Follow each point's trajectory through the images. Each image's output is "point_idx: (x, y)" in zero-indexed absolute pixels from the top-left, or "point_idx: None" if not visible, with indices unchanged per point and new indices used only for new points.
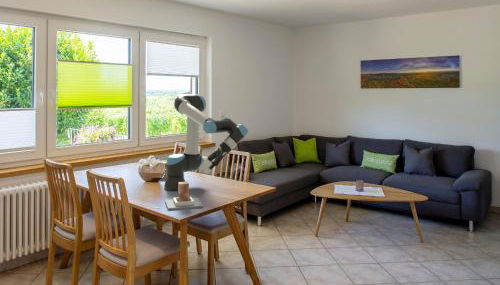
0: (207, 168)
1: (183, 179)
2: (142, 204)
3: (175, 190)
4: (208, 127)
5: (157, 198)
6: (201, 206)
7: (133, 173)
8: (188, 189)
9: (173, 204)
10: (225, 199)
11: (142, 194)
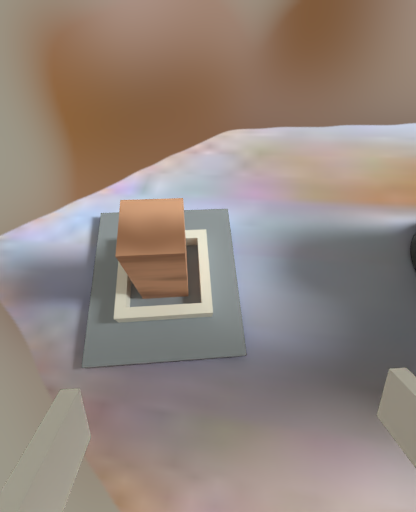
0: (23, 462)
1: None
2: (205, 149)
3: (414, 262)
4: None
5: (281, 192)
6: (84, 358)
7: None
8: (126, 270)
9: None
10: None
11: (340, 152)
